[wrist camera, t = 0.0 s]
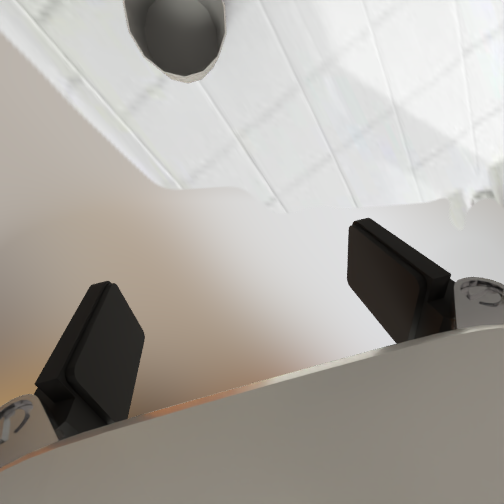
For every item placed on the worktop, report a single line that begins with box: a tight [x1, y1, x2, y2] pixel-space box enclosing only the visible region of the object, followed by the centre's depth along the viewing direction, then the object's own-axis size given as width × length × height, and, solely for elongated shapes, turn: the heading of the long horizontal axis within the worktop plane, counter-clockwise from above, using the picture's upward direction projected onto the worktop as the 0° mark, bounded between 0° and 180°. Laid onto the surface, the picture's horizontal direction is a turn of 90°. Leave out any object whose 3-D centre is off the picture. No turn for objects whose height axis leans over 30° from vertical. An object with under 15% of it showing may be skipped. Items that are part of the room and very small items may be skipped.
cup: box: [123, 0, 226, 83], centre depth 26 cm, size 8×8×10 cm
